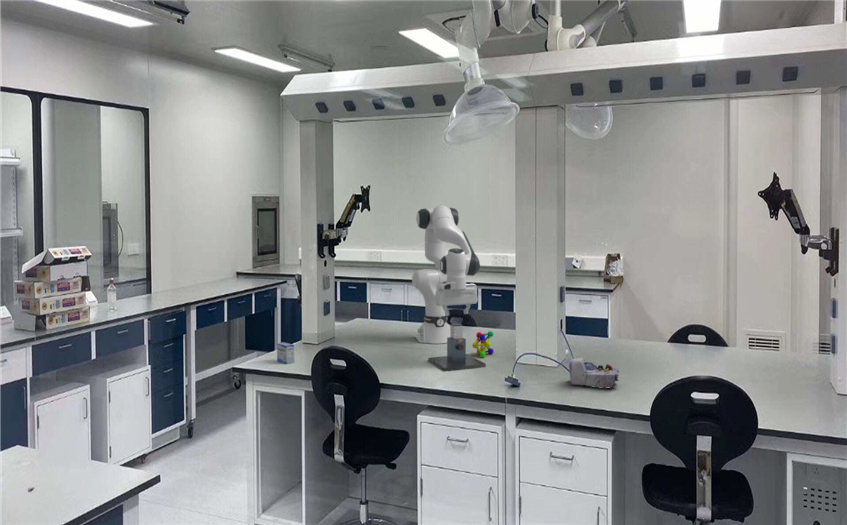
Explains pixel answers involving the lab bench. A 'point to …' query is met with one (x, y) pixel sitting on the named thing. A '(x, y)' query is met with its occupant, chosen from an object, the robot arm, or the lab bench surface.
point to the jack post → (456, 331)
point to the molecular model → (483, 344)
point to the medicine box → (285, 353)
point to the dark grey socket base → (456, 357)
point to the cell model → (592, 374)
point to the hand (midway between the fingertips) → (456, 314)
